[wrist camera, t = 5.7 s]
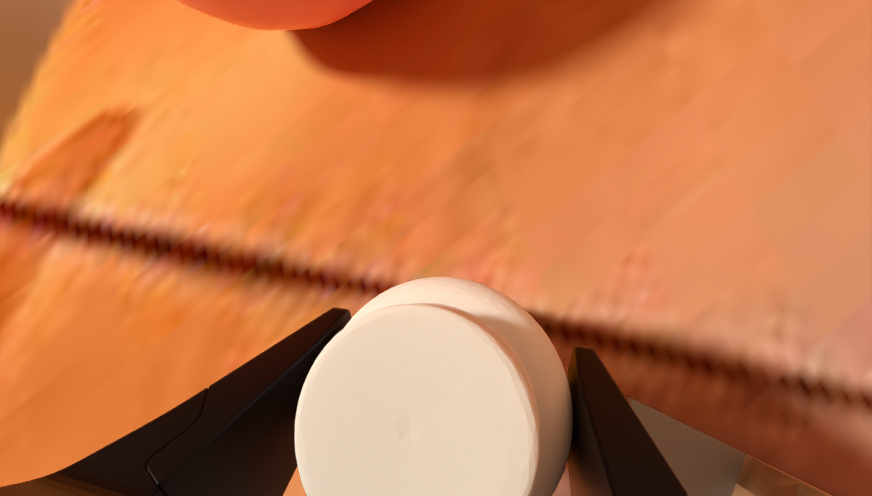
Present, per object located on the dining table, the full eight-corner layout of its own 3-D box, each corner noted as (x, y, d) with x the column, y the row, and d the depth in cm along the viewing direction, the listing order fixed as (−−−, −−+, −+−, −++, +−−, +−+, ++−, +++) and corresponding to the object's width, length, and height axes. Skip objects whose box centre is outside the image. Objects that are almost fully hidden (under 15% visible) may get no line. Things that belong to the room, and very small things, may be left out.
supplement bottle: (575, 363, 15) (690, 423, 5) (485, 476, 15) (427, 762, 5) (464, 274, 17) (393, 192, 7) (382, 375, 16) (185, 441, 7)
